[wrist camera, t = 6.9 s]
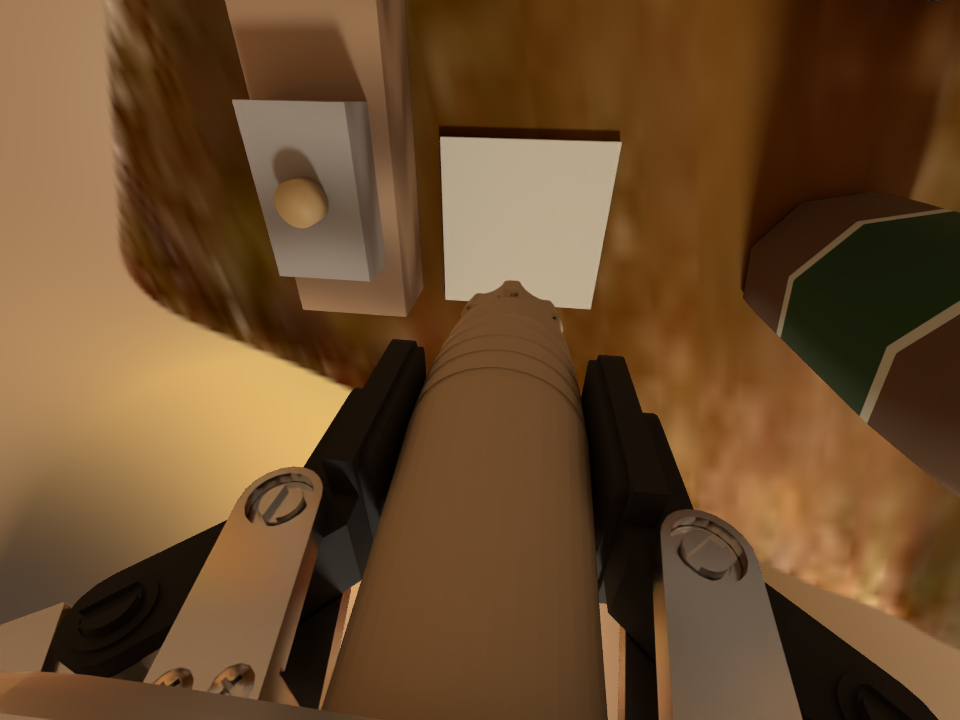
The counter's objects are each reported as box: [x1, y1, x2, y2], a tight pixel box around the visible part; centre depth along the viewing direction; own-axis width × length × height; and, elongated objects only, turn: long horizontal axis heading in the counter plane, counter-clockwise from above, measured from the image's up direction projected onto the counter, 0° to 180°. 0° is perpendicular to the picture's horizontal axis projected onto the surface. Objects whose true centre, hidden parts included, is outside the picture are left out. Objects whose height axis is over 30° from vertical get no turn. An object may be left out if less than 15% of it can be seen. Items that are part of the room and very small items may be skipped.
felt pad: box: [440, 136, 622, 309], centre depth 23 cm, size 9×9×1 cm
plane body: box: [225, 0, 423, 317], centre depth 18 cm, size 18×6×7 cm, turn 179°
